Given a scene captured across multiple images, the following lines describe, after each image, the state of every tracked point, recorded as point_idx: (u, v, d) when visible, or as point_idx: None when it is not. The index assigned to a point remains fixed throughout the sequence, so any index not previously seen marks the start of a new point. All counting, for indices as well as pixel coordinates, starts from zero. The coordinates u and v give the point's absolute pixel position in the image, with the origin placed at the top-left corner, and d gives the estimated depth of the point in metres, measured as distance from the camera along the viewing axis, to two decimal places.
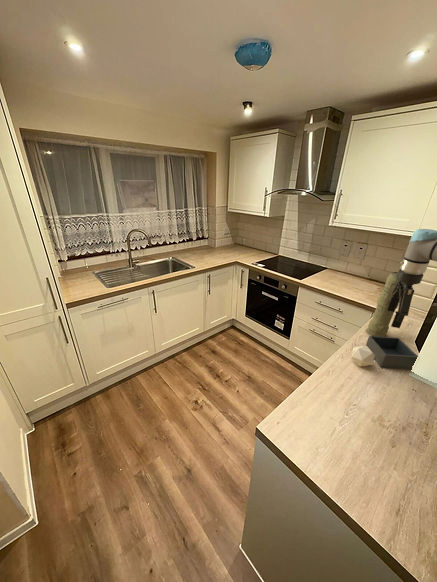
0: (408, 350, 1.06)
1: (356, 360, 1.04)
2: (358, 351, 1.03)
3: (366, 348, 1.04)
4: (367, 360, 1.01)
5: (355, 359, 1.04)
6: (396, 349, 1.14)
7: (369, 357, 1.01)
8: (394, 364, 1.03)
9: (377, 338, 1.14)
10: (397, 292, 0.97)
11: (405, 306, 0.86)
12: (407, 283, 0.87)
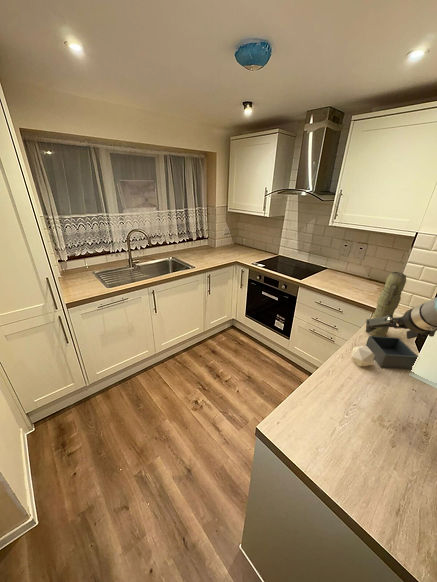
0: (408, 350, 1.06)
1: (356, 360, 1.04)
2: (358, 351, 1.03)
3: (366, 348, 1.04)
4: (367, 360, 1.01)
5: (355, 359, 1.04)
6: (396, 349, 1.14)
7: (369, 357, 1.01)
8: (394, 364, 1.03)
9: (377, 338, 1.14)
10: None
11: None
12: None
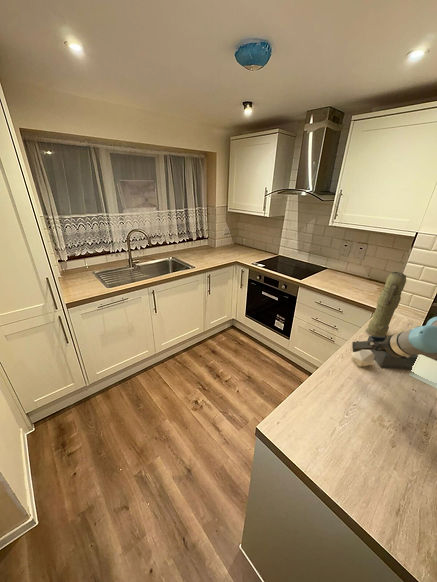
0: None
1: (356, 360, 1.04)
2: (358, 351, 1.03)
3: None
4: (367, 360, 1.01)
5: (355, 359, 1.04)
6: None
7: (369, 357, 1.01)
8: (394, 364, 1.03)
9: (377, 338, 1.14)
10: None
11: None
12: None
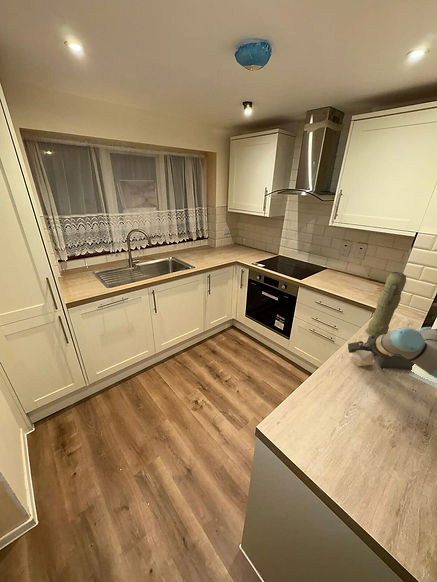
0: None
1: (355, 360, 1.04)
2: (357, 350, 1.03)
3: None
4: (366, 360, 1.01)
5: (354, 359, 1.04)
6: None
7: (369, 357, 1.01)
8: (394, 364, 1.03)
9: None
10: None
11: None
12: None
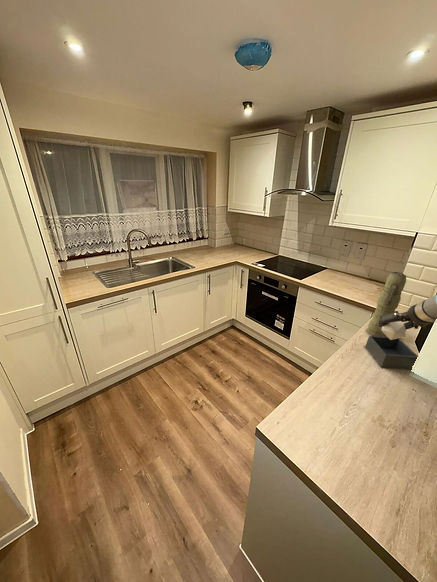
0: (408, 350, 1.06)
1: (387, 333, 1.02)
2: (389, 323, 1.01)
3: None
4: (399, 332, 0.99)
5: (386, 332, 1.02)
6: (396, 349, 1.14)
7: (402, 329, 0.99)
8: (394, 364, 1.03)
9: (377, 338, 1.14)
10: None
11: None
12: None
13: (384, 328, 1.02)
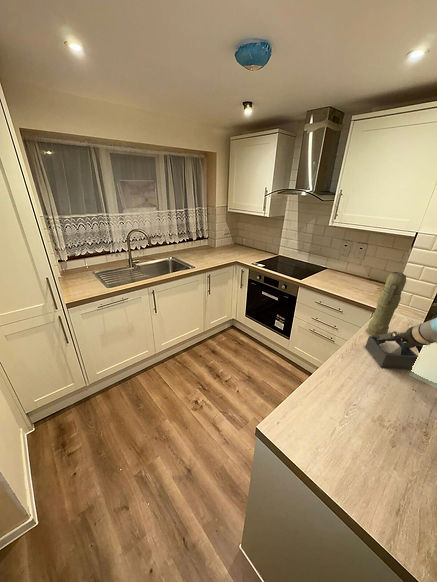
0: (408, 350, 1.06)
1: None
2: (385, 344, 1.07)
3: (394, 341, 1.07)
4: (395, 353, 1.05)
5: None
6: None
7: (397, 350, 1.05)
8: (394, 364, 1.03)
9: None
10: None
11: None
12: None
13: None
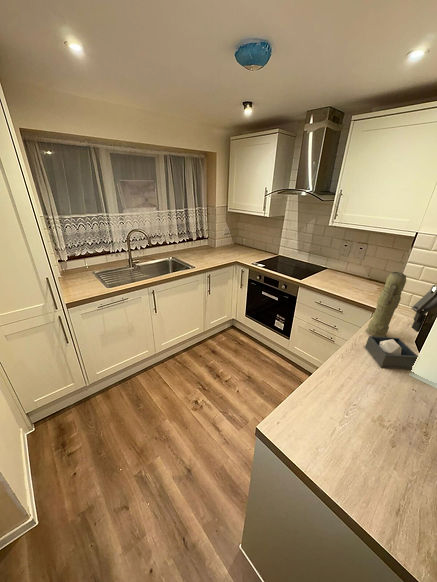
0: (408, 350, 1.06)
1: None
2: (385, 344, 1.07)
3: (394, 341, 1.07)
4: (395, 353, 1.05)
5: None
6: None
7: (397, 350, 1.05)
8: (394, 364, 1.03)
9: (377, 338, 1.14)
10: None
11: None
12: None
13: None
